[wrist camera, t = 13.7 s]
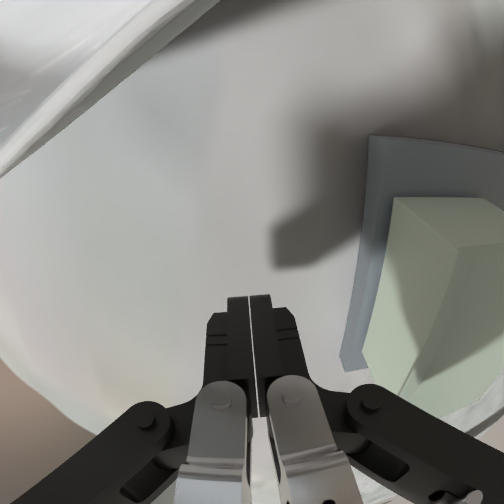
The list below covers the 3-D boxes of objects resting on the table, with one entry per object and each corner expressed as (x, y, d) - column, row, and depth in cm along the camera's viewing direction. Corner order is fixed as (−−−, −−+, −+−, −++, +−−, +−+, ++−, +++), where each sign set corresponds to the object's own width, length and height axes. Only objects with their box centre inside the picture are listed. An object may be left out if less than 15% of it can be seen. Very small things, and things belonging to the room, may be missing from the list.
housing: (441, 336, 14) (479, 399, 10) (355, 356, 14) (384, 436, 10) (488, 191, 10) (565, 244, 6) (387, 189, 10) (473, 260, 5)
